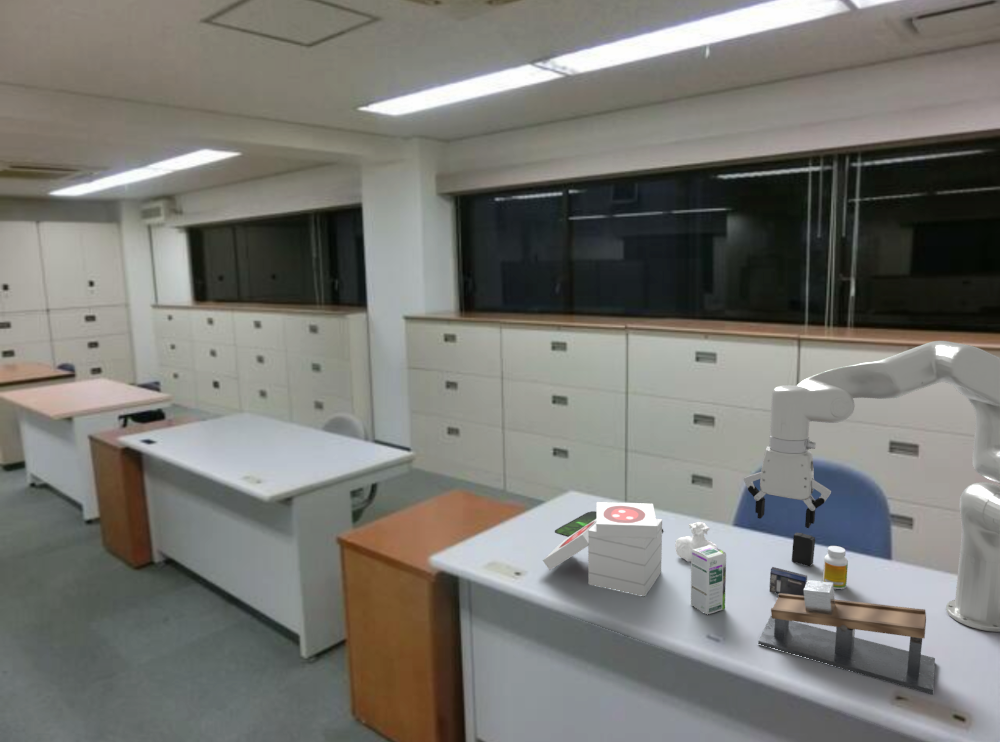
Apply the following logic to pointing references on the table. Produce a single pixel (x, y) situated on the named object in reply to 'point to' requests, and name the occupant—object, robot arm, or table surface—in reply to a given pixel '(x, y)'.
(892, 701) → the table surface
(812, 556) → the ink cartridge
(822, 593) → the steel cube
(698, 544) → the white lumpy figure
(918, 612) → the beam
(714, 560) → the syrup box
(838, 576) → the supplement bottle
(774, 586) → the mini dv tape
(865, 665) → the pivot stand
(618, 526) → the pizza boxes
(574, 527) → the mouse mat
